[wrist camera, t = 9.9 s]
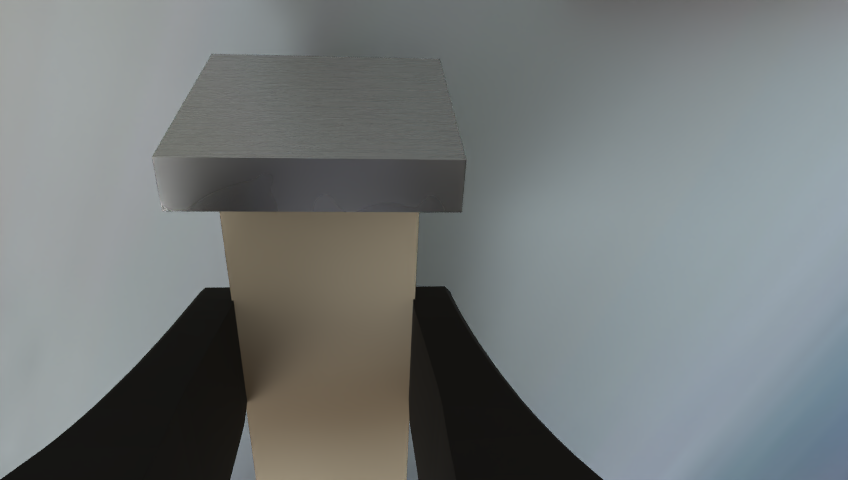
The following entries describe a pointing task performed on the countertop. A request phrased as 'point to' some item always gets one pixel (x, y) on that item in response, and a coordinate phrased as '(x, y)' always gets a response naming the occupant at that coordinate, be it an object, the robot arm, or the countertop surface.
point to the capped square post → (319, 241)
